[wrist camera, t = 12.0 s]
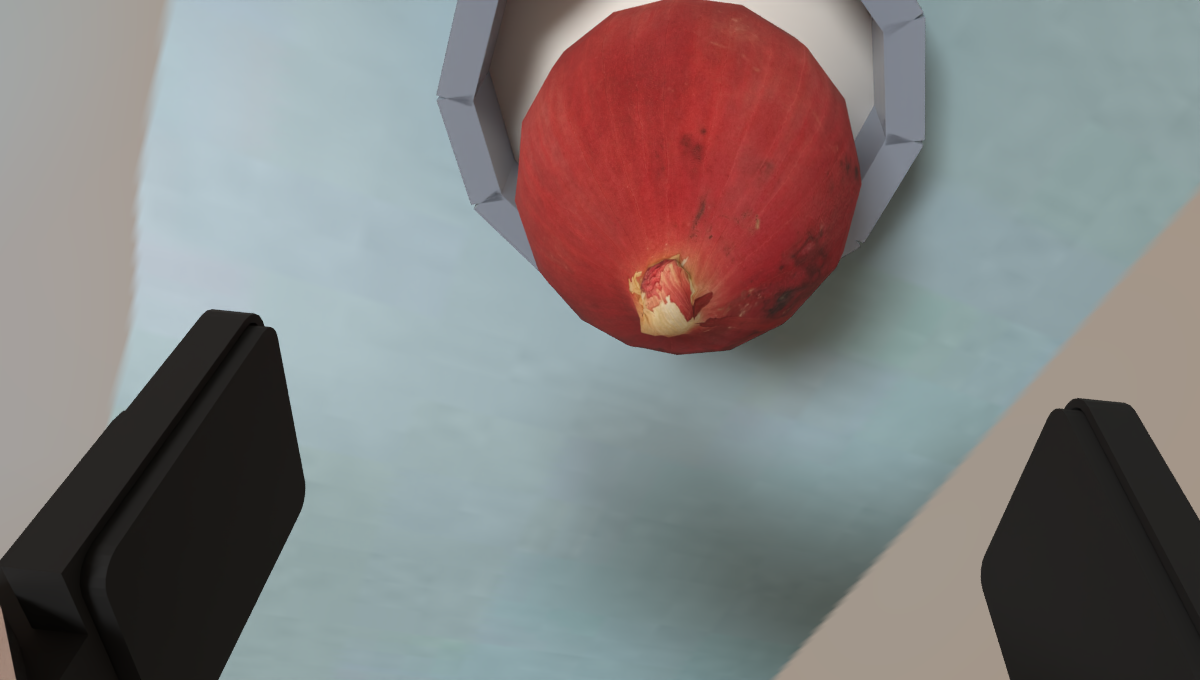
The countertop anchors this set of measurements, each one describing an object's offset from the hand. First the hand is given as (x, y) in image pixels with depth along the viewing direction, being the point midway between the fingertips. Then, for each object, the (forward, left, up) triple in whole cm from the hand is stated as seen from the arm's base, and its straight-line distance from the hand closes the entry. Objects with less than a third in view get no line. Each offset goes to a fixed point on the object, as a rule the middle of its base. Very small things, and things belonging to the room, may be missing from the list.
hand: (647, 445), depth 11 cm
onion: (+1, 0, -10) cm, 10 cm away
